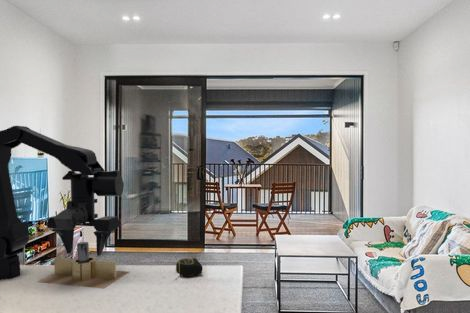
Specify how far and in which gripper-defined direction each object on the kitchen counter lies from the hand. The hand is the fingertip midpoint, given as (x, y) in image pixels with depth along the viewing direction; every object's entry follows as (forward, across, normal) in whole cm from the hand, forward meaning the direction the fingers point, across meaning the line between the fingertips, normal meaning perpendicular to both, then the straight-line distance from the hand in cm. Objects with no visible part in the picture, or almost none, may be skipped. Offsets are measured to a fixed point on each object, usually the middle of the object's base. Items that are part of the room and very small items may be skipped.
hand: (84, 254), depth 96 cm
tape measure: (+7, +26, +11) cm, 29 cm away
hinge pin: (+6, 0, 0) cm, 6 cm away
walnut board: (+7, 0, 0) cm, 7 cm away
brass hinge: (+6, 0, 0) cm, 6 cm away
